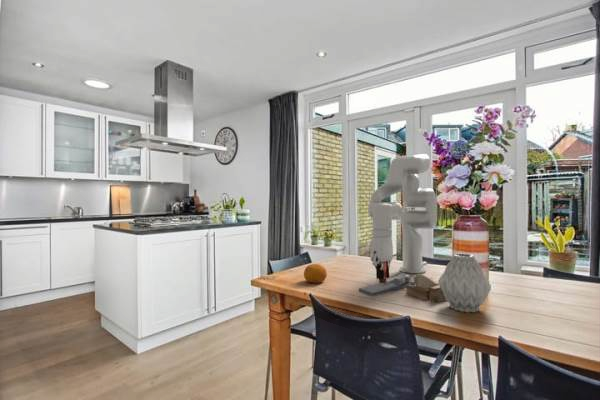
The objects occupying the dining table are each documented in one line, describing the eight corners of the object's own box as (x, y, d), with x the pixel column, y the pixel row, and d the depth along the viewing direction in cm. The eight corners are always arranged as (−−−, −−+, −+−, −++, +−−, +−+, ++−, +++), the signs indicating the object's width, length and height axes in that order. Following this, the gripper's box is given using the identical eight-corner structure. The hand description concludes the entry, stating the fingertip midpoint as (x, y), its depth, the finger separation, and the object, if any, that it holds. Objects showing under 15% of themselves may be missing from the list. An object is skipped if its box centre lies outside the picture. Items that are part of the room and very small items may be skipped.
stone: (436, 294, 128) (445, 278, 123) (434, 306, 123) (443, 290, 118) (411, 283, 132) (418, 266, 126) (407, 294, 127) (415, 278, 121)
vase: (428, 303, 114) (428, 252, 114) (465, 298, 119) (464, 249, 119) (463, 320, 99) (462, 261, 99) (504, 314, 103) (503, 257, 103)
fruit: (327, 285, 140) (327, 267, 140) (303, 285, 140) (303, 267, 140) (326, 278, 151) (325, 262, 151) (304, 279, 151) (303, 262, 151)
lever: (402, 277, 144) (402, 253, 143) (414, 279, 139) (413, 255, 139) (376, 286, 130) (375, 260, 130) (388, 289, 125) (387, 262, 125)
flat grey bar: (400, 280, 145) (400, 275, 145) (415, 284, 138) (415, 279, 138) (358, 291, 130) (358, 285, 130) (373, 295, 124) (373, 289, 124)
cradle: (426, 288, 133) (426, 276, 133) (454, 295, 123) (454, 283, 122) (406, 293, 126) (406, 281, 126) (435, 302, 115) (434, 288, 115)
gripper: (385, 231, 137) (385, 273, 137) (362, 234, 126) (363, 280, 126) (400, 232, 132) (401, 276, 132) (378, 236, 120) (379, 284, 121)
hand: (382, 277), depth 129 cm, fingers closed on lever, 3 cm apart
